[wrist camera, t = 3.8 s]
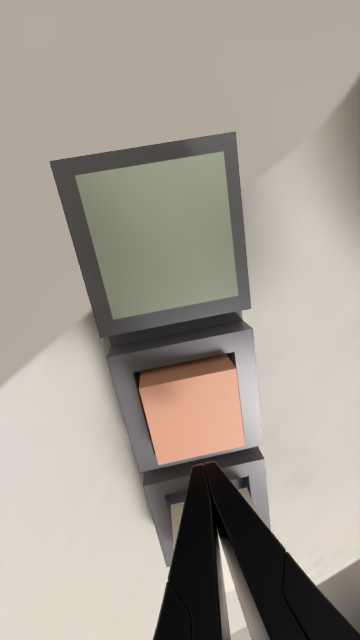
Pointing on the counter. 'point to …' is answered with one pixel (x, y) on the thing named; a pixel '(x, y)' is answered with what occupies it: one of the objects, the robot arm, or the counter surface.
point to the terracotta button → (192, 408)
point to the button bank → (173, 335)
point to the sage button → (161, 233)
